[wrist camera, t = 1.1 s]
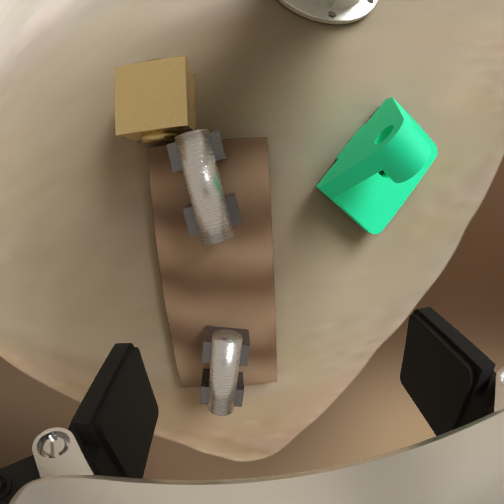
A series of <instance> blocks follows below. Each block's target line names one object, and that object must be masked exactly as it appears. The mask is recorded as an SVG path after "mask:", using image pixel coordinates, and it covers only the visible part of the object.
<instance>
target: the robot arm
mask: <svg viewBox="0 0 504 504" xmlns="http://www.w3.org/2000/svg"><path fill="white" fill-rule="evenodd" d="M279 1H280V2H281V3H282V4H283V5H284V6H286V7H287V8H288V9H290V10H291V11H293V12H295V13H297V14H298V15H300V16H303V17H305V18H308V19H310V20H314V21H317V22H321V23H328V24H347V23H353V22H355V21H358V20H361V19H362V18H364V17H365V16H367V15H368V14H369V13H370V12H371V11H372V10H373V9H374V7H375V6H376V4H377V1H378V0H279ZM329 16H330V17H329ZM494 367H495V363H494V362H492V361H491V360H490V359H489V358H488V357H487V356H486V355H485V354H484V353H483V352H481V351H480V350H479V349H478V348H477V347H476V346H475V345H474V344H473V343H471V342H470V341H469V340H468V339H467V338H466V337H465V336H463V335H462V334H461V333H460V332H459V331H458V330H457V329H455V328H454V327H453V326H452V325H451V324H449V323H448V322H447V321H446V320H445V319H444V318H443V317H441V316H440V315H439V314H438V313H437V312H435V311H434V310H433V309H432V308H430V307H426V308H421V309H416V310H414V312H413V314H411V315H410V317H409V323H408V330H407V337H406V344H405V350H404V357H403V362H402V368H401V373H400V380H401V383H402V385H403V386H404V388H405V389H406V390H407V392H408V394H409V395H410V397H411V398H412V400H413V401H414V402H415V404H416V406H417V407H418V409H419V410H420V412H421V413H422V415H423V416H424V418H425V419H426V421H427V422H428V423H429V425H430V427H431V428H432V430H433V431H434V433H435V434H436V437H434V438H431V439H428V440H425V441H422V442H419V443H416V444H414V445H411V446H407V447H404V448H401V449H398V450H395V451H391V452H388V453H384V454H381V455H377V456H374V457H370V458H366V459H362V460H358V461H354V462H350V463H346V464H341V465H336V466H331V467H326V468H321V469H315V470H310V471H304V472H298V473H291V474H283V475H275V476H267V477H255V478H244V479H227V480H157V479H142V478H143V474H144V470H145V466H146V462H147V458H148V453H149V449H150V445H151V441H152V437H153V433H154V430H155V426H156V422H157V418H158V405H157V402H156V400H155V397H154V394H153V391H152V388H151V385H150V382H149V379H148V376H147V373H146V370H145V367H144V364H143V360H142V357H141V354H140V351H139V349H138V348H137V347H134V346H133V344H132V343H118V344H115V345H114V347H113V348H112V350H111V352H110V353H109V355H108V357H107V358H106V360H105V362H104V364H103V365H102V367H101V369H100V370H99V372H98V374H97V376H96V377H95V379H94V381H93V383H92V384H91V386H90V388H89V390H88V392H87V393H86V395H85V397H84V399H83V401H82V402H81V404H80V406H79V408H78V410H77V412H76V413H75V415H74V417H73V419H72V421H71V424H70V426H69V428H68V430H67V429H65V428H51V429H48V430H46V431H44V432H42V433H41V434H40V435H38V436H37V437H36V439H35V440H34V443H33V446H32V450H33V455H32V456H30V457H27V458H25V459H23V460H20V461H18V462H16V463H13V464H11V465H8V466H6V467H4V468H1V469H0V504H504V367H503V368H502V369H500V370H499V371H498V372H497V373H495V372H494V371H493V370H494Z"/></svg>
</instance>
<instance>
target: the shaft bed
mask: <svg viewBox="0 0 504 504" xmlns="http://www.w3.org/2000/svg"><path fill="white" fill-rule="evenodd" d="M222 142H223V146H224V150H225V154H226V158H227V160H223V161H219V162H216V163H217V167H218V171H219V175H220V179H221V183H222V187H223V191H224V195H227V194H231V193H235V195H236V199H237V203H238V207H239V211H240V215H241V221H242V224H239V225H235V226H232V227H233V231H234V235H235V236H234V237H233V238H231V239H229V240H227V241H224V242H221V243H217V244H212V245H202V242H201V239H200V235H195V236H191V237H190V234H189V230H188V227H187V223H186V219H185V216H184V212H183V208H184V207H186V206H187V205H188V204H191V202H190V198H189V194H188V190H187V186H186V182H185V178H184V175H183V171H182V172H173V170H172V166H171V162H170V158H169V154H168V149H167V145H164V146H156V147H149V148H148V164H149V177H150V189H151V200H152V210H153V219H154V228H155V237H156V245H157V253H158V260H159V267H160V274H161V281H162V287H163V294H164V300H165V306H166V312H167V318H168V323H169V329H170V334H171V339H172V345H173V350H174V355H175V360H176V364H177V369H178V374H179V378H180V383H181V387H200V386H201V382H202V374H203V368H204V369H210V363H203V362H202V353H203V340H204V334H205V327H206V325H207V326H217V327H227V328H239V329H249V339H250V351H249V358H248V365H247V366H239V371H238V372H243V381H244V384H257V383H269V382H277V357H276V322H275V292H274V265H273V241H272V219H271V198H270V179H269V161H268V143H267V137H262V138H243V139H227V140H222Z"/></svg>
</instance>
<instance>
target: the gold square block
mask: <svg viewBox="0 0 504 504" xmlns="http://www.w3.org/2000/svg"><path fill="white" fill-rule="evenodd" d="M194 130H196V113H195V90H194V74H193V72H192V70H191V68H190V65H189V63H188V61H187V59H186V56H180V57H172V58H165V59H156V60H150V61H146V62H141V63H136V64H131V65H126V66H121V67H117V68H115V134H116V136H120V137H124V138H128V139H132V140H136V141H138V140H141V142H142V143H155V142H164V141H171V140H175V137H176V136H177V135H181V134H183V133H186V132H190V131H194Z"/></svg>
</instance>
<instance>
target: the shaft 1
mask: <svg viewBox="0 0 504 504" xmlns="http://www.w3.org/2000/svg"><path fill="white" fill-rule="evenodd" d="M167 149H168V154H169V158H170V162H171V166H172V170H173V172H182V171H183V175H184V178H185V182H186V186H187V190H188V194H189V198H190V202H191V204H188V205H187V206H186V207H184V208H183V212H184V216H185V219H186V223H187V227H188V230H189V234H190V237H191V236H195V235H200V239H201V242H202V245H212V244H217V243H221V242H224V241H227V240H229V239H231V238H233V237H234V236H235V235H234V231H233V227H232V226H235V225H239V224H242V221H241V215H240V211H239V207H238V203H237V199H236V195H235V193H231V194H227V195H224V191H223V187H222V183H221V179H220V175H219V171H218V167H217V163H216V162H219V161H223V160H227V158H226V154H225V150H224V146H223V142H222V138H221V134H220V132H219V130H217V131H214V132H210V133H209V130H208V129H199V130H194V131H190V132H186V133H183V134H181V135H178V136H176V137H175V142H173V143H170V144H167Z"/></svg>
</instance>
